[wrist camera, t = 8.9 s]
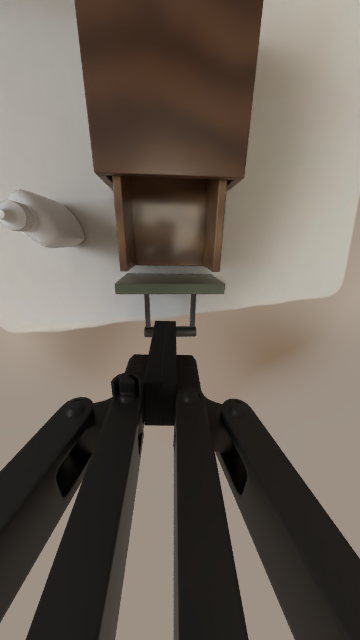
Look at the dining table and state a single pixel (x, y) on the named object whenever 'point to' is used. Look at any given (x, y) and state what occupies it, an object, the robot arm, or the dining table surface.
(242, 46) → the cabinet
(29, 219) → the eye dropper bottle
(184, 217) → the drawer
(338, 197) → the dining table surface
